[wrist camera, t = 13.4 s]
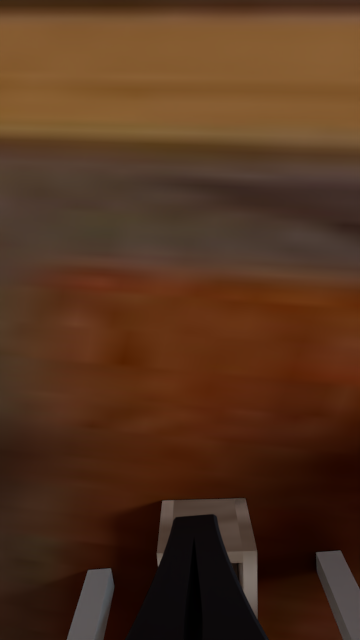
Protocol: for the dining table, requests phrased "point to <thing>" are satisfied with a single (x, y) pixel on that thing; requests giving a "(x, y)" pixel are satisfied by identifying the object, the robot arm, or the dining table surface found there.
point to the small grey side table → (336, 578)
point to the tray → (232, 531)
